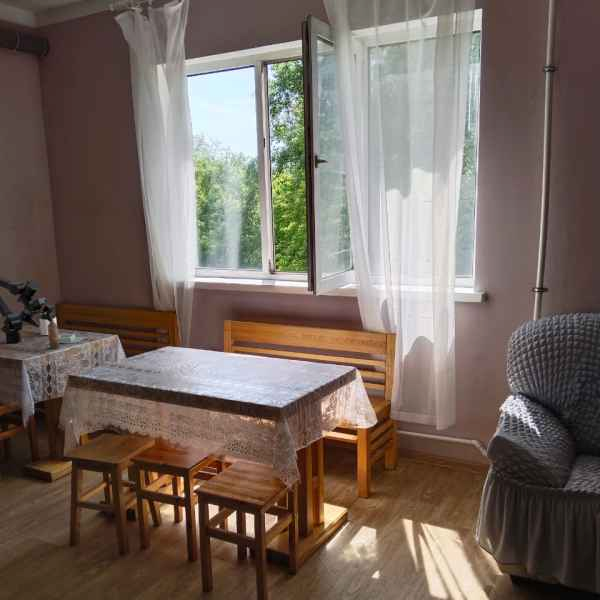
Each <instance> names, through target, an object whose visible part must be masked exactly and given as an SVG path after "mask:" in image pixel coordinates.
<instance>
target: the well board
mask: <svg viewBox="0 0 600 600" xmlns="http://www.w3.org/2000/svg"><path fill="white" fill-rule="evenodd" d="M58 337H59V343H70V344H79V343H78V342H80V341H81V340H82V339H83V340H85V339H86V336H76V334H75V333H71V334H69V333H67V334H66V333H65V334H63V333H62V334H58ZM83 340H82V341H83ZM82 341H81V342H82ZM81 342H80V343H81ZM44 345H50V343H49V340H48V341H46V342H44Z"/></svg>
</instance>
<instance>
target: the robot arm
mask: <svg viewBox="0 0 600 600" xmlns="http://www.w3.org/2000/svg"><path fill="white" fill-rule="evenodd" d="M0 288H4V289H6V290H8V292H9V293H10V294H11V295H12V296H18V295H19V296H18V297H17V299H16V302H17V303H22V304H23V305H22V306H24V308H23V309H24V310H22V311H21V312H20V314H19V313H18V312H12V310H11V309H10V307H9V306H8V304H7V303H6V302H5V300H4V299H3V298H2V297H1V295H0V315H1V316H2V317H3V324H4V325H3V326H2V327H1V331H2V333H5V340H6V341H5V343H8V344H18V343H20V342H22V335H21V334H22V333H20V331H22V330H23V324H24V323H27V324H29V325H31V326H34V327H37V328H39V327H40V324H39V323H38V322H37V320H36V319H35V317H34V316H35V315H36V316H37V315H40V314H43V315H45V316H44V317H45V318H46V319H47V320H48V321H49V322H51V321H53V318H52V312H53V310H54V309H55V307H54V306H53V304H47V305H46V303H48V299H47V297H46V296H41V297H39V298H36V299H34V297H35V295H36V294H37V293H38V291H39V289H40V285H39V284H38V283H36V282H34V281H32V280H27V281H26V283H24V282H20V281H19V282H17V281H16V282H15V281H12V280H10V279H7V278H5V277H3V276H1V275H0ZM43 305H45V306H44V307H43Z"/></svg>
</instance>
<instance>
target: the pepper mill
mask: <svg viewBox="0 0 600 600" xmlns="http://www.w3.org/2000/svg"><path fill="white" fill-rule="evenodd" d="M48 325H49V326H48V333H49V336H48V341H49V343H50V344H49V349H50V350H57V348H58V349H60V344H59V337H58V335H59V329H58V328H59V327H58V324H57V325H56V323H55V322H54V321H51V322H50V324H48Z"/></svg>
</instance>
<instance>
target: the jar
mask: <svg viewBox="0 0 600 600" xmlns="http://www.w3.org/2000/svg"><path fill="white" fill-rule="evenodd" d="M44 316H45V315H43V314H42V313H41V314H39V327H40V336H42V335H49V333H48V326H49V325H48V324H50V322H49V321H48V320H47V319H46V318H45V317H44ZM52 318H53V321H54V322H55V323H56V325H57V326H58V324H57V322H58V321H57V317H56V313H55V312H53V311H52Z"/></svg>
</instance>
